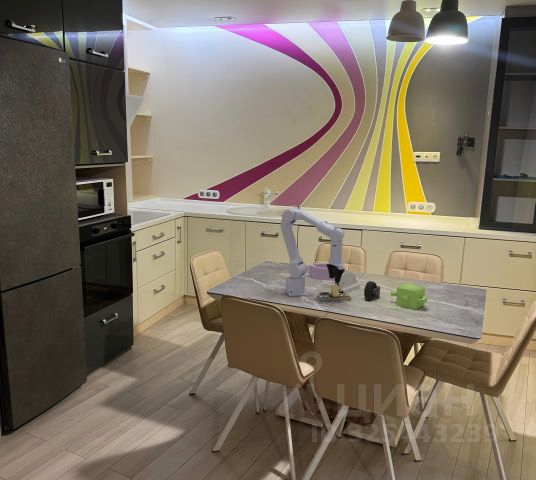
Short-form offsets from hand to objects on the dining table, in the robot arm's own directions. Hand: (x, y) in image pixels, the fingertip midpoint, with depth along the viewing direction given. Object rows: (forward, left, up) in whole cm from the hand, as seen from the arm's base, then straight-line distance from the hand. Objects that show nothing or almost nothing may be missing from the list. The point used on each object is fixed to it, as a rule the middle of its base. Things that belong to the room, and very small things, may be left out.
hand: (334, 280), depth 243 cm
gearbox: (+32, -15, -10) cm, 37 cm away
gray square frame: (-2, +6, -10) cm, 12 cm away
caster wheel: (+21, -1, -10) cm, 23 cm away
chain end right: (+3, 0, -10) cm, 10 cm away
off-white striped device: (+13, +16, -10) cm, 23 cm away
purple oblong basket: (+11, +39, -10) cm, 42 cm away
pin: (0, 0, -10) cm, 10 cm away
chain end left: (-3, 0, -10) cm, 10 cm away
